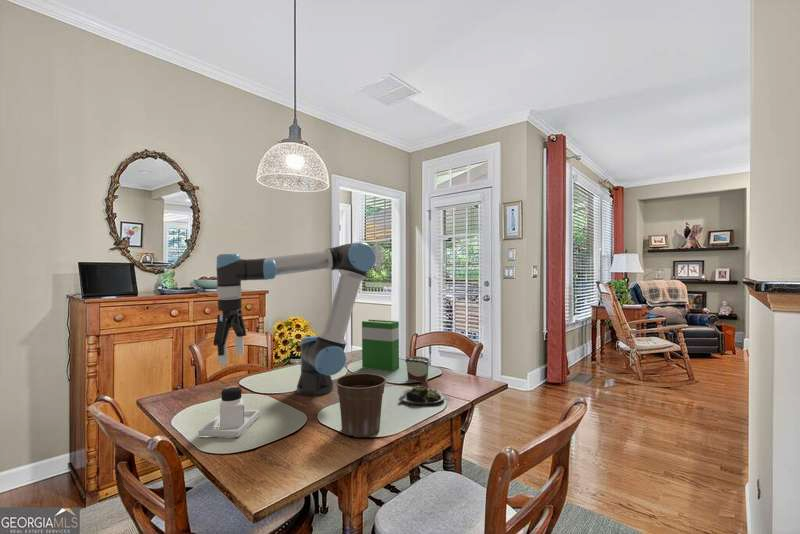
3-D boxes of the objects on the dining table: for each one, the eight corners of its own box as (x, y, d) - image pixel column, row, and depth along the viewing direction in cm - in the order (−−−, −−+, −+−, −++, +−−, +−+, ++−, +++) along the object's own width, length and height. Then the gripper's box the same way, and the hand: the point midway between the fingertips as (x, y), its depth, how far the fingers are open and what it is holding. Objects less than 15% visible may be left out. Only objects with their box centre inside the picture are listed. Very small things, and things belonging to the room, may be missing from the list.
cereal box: (362, 367, 195) (361, 321, 195) (369, 364, 202) (369, 319, 202) (392, 371, 187) (392, 323, 187) (399, 367, 194) (398, 321, 194)
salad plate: (397, 390, 160) (397, 379, 160) (439, 389, 161) (439, 378, 161) (398, 407, 141) (398, 395, 141) (446, 406, 141) (446, 394, 141)
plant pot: (371, 415, 133) (371, 370, 133) (396, 432, 119) (395, 381, 119) (328, 426, 124) (327, 377, 124) (348, 446, 110) (348, 391, 110)
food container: (435, 379, 173) (434, 358, 173) (428, 383, 168) (428, 361, 168) (412, 375, 180) (411, 355, 180) (405, 379, 175) (405, 357, 175)
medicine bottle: (244, 426, 123) (243, 389, 123) (220, 430, 120) (219, 393, 120) (242, 418, 130) (242, 383, 130) (219, 422, 127) (219, 386, 127)
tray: (260, 416, 133) (260, 410, 133) (238, 438, 116) (238, 431, 116) (225, 416, 133) (225, 410, 133) (198, 438, 116) (198, 430, 116)
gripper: (234, 295, 143) (236, 350, 143) (200, 302, 118) (202, 369, 118) (254, 294, 143) (255, 350, 143) (224, 302, 118) (226, 369, 118)
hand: (231, 359), depth 131 cm, fingers open, 13 cm apart
